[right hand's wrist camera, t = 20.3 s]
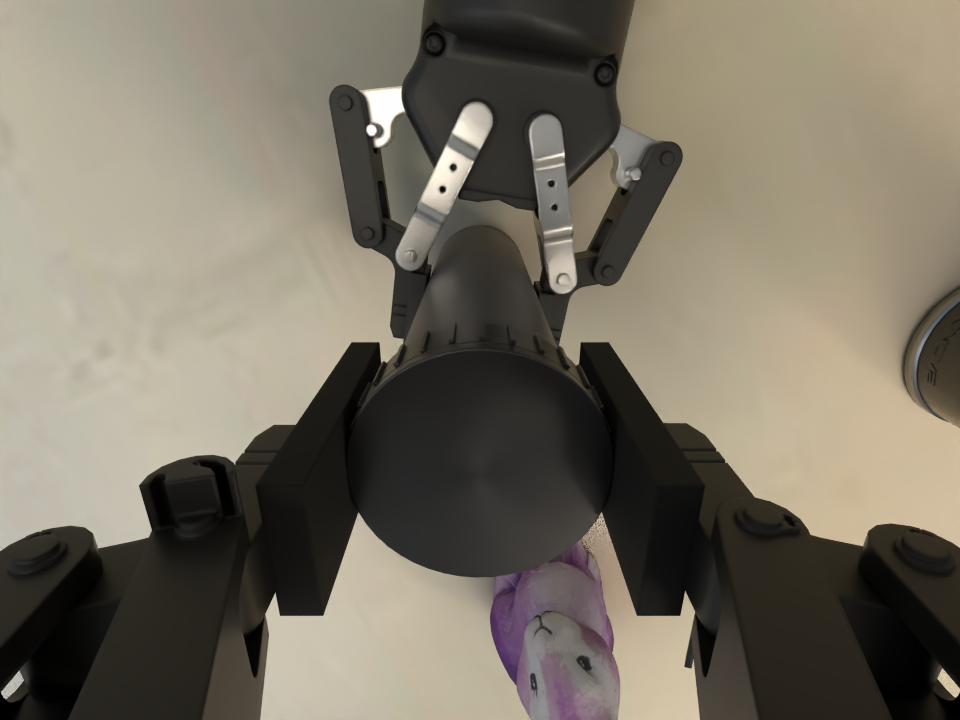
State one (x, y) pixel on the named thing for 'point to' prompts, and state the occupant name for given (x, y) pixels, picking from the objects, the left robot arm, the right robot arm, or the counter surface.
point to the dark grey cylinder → (480, 287)
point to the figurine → (558, 639)
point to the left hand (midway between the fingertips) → (472, 354)
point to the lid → (480, 451)
